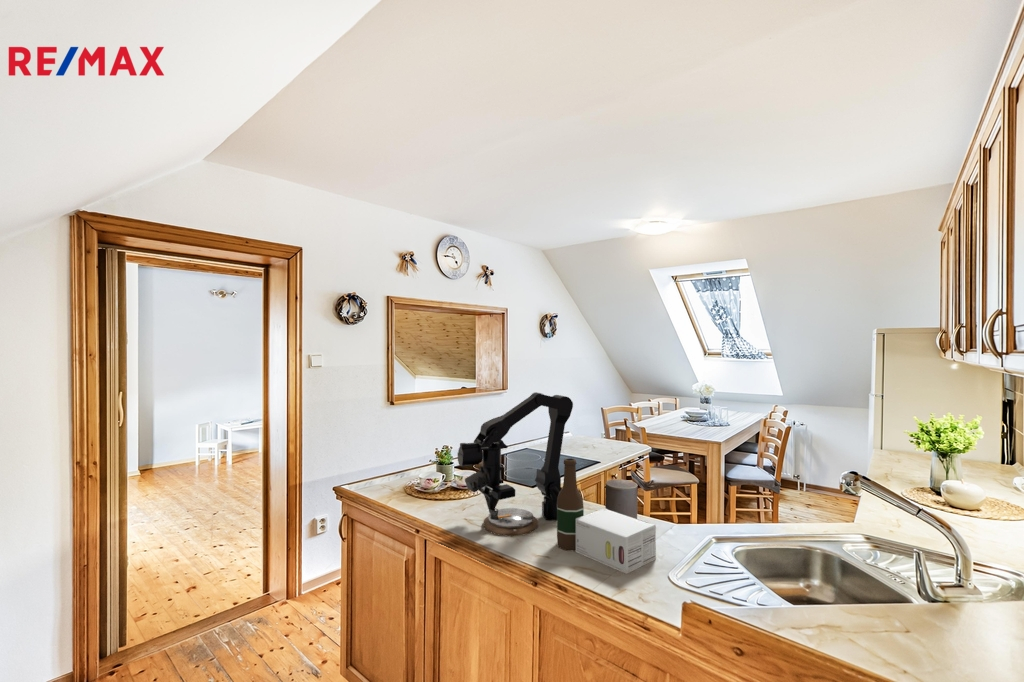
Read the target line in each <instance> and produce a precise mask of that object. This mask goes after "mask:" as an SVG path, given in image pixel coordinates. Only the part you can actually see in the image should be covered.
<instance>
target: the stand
mask: <svg viewBox="0 0 1024 682" xmlns="http://www.w3.org/2000/svg"><path fill="white" fill-rule="evenodd" d="M538 528H539V519H538V518H537V517H535V516H534V515H533V523H532V524H530V525H529V526H526V527H522V528H515V529H506V528H499V527H495V526H493V525H491V524H490V523H489V522H488V516H486V517H485V518H484V519H483V529H485V531H487V532H489V533H491V532H492V533H491V534H494V533H495V534H494V535H498V534H499V536H505V535H507V536H510V537H511V536H512V537H513V536H514V537H516V536H522V535H527V534H530V533H533V532H535V531H536V530H537V529H538Z"/></svg>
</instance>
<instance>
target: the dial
mask: <svg viewBox="0 0 1024 682" xmlns="http://www.w3.org/2000/svg"><path fill="white" fill-rule="evenodd" d="M533 516H534V514H533V513H532V512H531V511H529V510H526V509H523V508H514V507H509V508H507V507H506V508H497V507H495V508H493V509H490V513H489V514H488V515H487V517H488V522H489V523H490V524H491V525H493V526H495V527H499V528H506V529H515V528H522V527H526V526H529V525H530V524H532V523H533Z"/></svg>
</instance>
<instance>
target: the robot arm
mask: <svg viewBox="0 0 1024 682" xmlns="http://www.w3.org/2000/svg"><path fill="white" fill-rule="evenodd" d="M541 406H542V407H546V408H548V417H549V420H550V424H549V430H548V438H547V443H546V444H547V445H546V449H545V457H544V463H543V466H542V467H541V469H539V468H537V469H536V477H535V479H534V482H535V484H536V487H537V489H538V490H539V491H540V493H541V495H542V496H543V501H542V502H541V514H542V516H543V517H544V519H545V520H546V521H557V498H558V495H559V492H560V491H561V489H562V488H563V487H562V478H561V477H562V476H561V473H560V468H559V467H560V459H561V453H562V446H563V440H564V433H565V428H566V427H565V425H566V423H568V420H569V419H570V417H571V414H572V411H573V408H574V402H573V400H572V399H571V398H570V397H569V396H565V395H561V394H560V395H559V394H554V395H552V396H550V395H547V394H544V393H541V392H533V393H531V394H530V396H528V397H527V398H525V399H524V400H523V401H521V402H520V403H518V404H517V405H516V406H514V407H513V408H511V409H509V411H507V412H505V413H503V414H502V415H500V416H497V417H493V418H491V419H489V420H487V421H484V422H483V424H481V426H480V431H479V432H478V434H477V436H476V437H475V438H474V440H473V442H469V443H468V442H467V443H466V442H461V443H459V448H458V451H457V461H458V462H457V463H458V465H459V466H460V467H467V466H477V465H479V467H478V471H477V472H473V473H472V474H470V475H469V476H467V477H466V478H464V482H465V486H466V488H467V490H469V491H471V493H472V492H473V493H476V492H478V491H479V492H480V493H481V494H482V495H483V496H484V498H485V499H484V500H485V501H486V505H487V509H488V512H489V514H490V509H493V508H497V504H498V503H499V501H501V500H505V499H510V498H515V497H516V489H515V488H514V487H513V486H511V485H509V484H507V483H506V484H504V479H502V471H504V466H503V465H502V449H508V445H506V443H504V441H503V440H502V439H503V438H504V437H505V436H506V435H507V434H508V433H509V431H510V429H511V428H512V427H513V426H514V425H516V424H518V422H520V421H521V420H524V418H526V417H527V416H529V415H530V414H531V413H532V412H534V411H536V410H537V409H538V408H540V407H541ZM480 463H481V464H482V465H480Z"/></svg>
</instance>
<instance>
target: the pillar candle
mask: <svg viewBox="0 0 1024 682" xmlns="http://www.w3.org/2000/svg"><path fill="white" fill-rule="evenodd" d="M638 486H639V485H638V483H636V482H634V481H632V480H627V479H622V478H620V479H617V478H616V479H615V478H614V479H609V480H607V481H606V482H605V493H604V495H605V501H604V502H605V505H604V506H605V508H604V509H608V510H611V511H614V512H617V513H620V514H623V515H626V516H629V517H632V518H635V519H638Z"/></svg>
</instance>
